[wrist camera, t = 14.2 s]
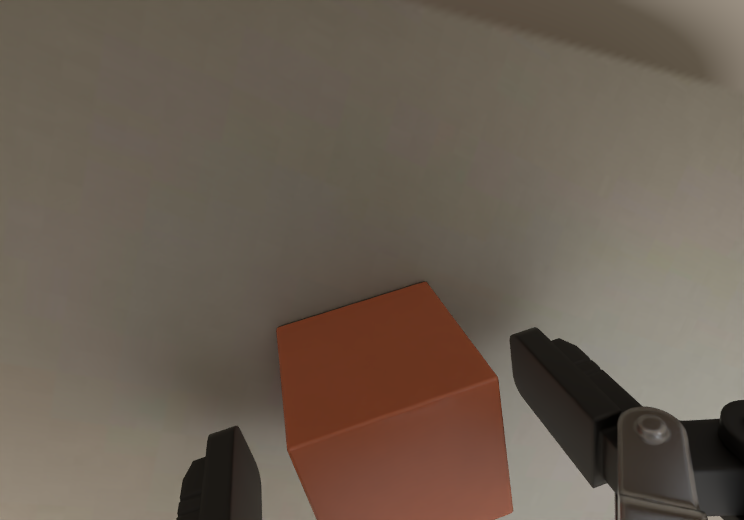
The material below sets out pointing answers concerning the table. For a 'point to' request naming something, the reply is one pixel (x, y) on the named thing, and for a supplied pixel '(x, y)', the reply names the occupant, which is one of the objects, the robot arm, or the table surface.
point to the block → (393, 413)
